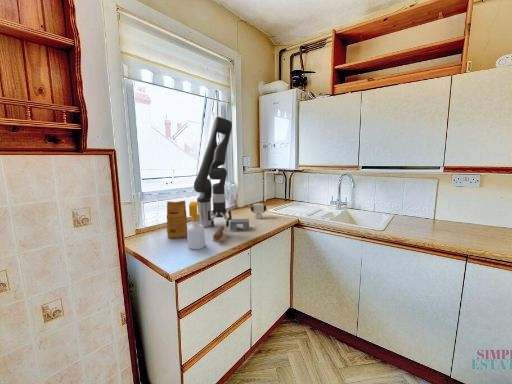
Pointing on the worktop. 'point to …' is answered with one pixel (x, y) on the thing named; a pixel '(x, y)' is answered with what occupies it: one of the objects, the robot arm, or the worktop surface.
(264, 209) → the pneumatic valve
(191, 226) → the soap bottle
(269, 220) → the worktop surface
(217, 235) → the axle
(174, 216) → the coffee package
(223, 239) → the v block
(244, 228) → the grey rectangular block
